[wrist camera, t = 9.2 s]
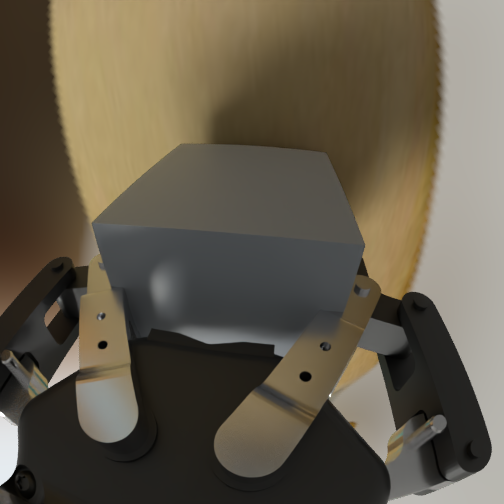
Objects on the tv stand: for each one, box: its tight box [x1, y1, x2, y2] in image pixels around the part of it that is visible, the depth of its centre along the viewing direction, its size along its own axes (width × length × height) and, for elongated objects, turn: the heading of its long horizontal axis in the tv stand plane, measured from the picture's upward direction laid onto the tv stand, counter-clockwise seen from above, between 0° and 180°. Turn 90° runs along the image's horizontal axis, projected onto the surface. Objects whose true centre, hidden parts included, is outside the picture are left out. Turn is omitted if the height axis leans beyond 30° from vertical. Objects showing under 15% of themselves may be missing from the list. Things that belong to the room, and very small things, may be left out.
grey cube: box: [92, 144, 365, 357], centre depth 11 cm, size 7×7×7 cm
